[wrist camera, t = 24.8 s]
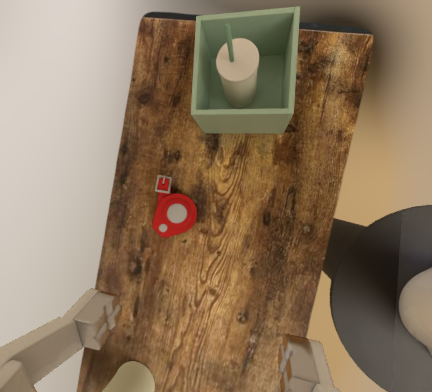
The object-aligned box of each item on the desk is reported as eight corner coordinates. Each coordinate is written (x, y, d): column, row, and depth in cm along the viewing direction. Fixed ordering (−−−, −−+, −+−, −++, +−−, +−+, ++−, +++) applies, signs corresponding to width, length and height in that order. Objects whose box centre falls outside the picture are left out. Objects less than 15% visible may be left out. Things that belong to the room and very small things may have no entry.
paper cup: (258, 75, 39) (263, -7, 23) (256, 108, 39) (259, 49, 23) (225, 77, 40) (208, -2, 24) (223, 109, 40) (205, 52, 24)
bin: (288, 52, 39) (300, 6, 29) (283, 133, 39) (293, 113, 29) (208, 57, 41) (196, 15, 32) (204, 133, 41) (190, 114, 32)
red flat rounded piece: (207, 212, 40) (171, 249, 39) (205, 210, 44) (172, 244, 43) (162, 168, 39) (123, 205, 38) (164, 171, 43) (129, 205, 42)
